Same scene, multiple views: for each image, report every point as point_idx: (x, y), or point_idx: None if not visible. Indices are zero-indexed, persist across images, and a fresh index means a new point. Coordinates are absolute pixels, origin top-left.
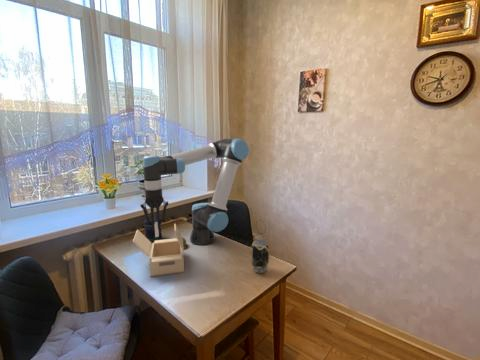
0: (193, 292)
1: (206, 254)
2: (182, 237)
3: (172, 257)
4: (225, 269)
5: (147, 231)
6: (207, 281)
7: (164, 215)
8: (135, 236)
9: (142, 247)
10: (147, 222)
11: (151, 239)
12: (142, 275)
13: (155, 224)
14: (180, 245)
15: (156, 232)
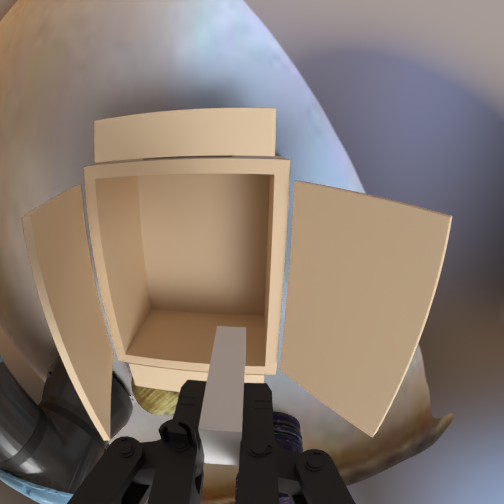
0: (115, 16)
1: None
2: (143, 407)
3: (141, 139)
4: (8, 155)
5: None
6: (61, 78)
7: (76, 498)
8: (417, 330)
9: (350, 228)
10: None
11: (278, 434)
12: (318, 182)
13: (226, 428)
14: (64, 192)
15: (229, 355)
